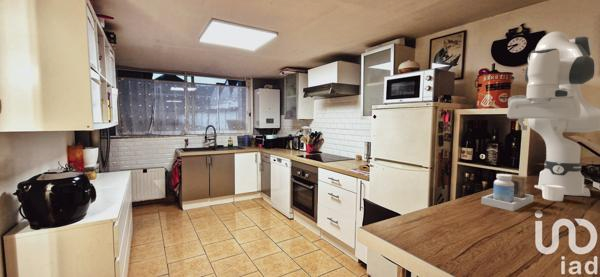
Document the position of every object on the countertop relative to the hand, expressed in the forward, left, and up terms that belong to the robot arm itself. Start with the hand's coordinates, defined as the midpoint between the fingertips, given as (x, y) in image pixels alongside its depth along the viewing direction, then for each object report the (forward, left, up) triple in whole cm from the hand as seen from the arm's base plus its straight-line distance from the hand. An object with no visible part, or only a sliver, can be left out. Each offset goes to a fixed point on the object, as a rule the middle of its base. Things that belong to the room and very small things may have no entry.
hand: (539, 130), depth 97 cm
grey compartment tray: (+7, -6, -30) cm, 31 cm away
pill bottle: (+12, -6, -28) cm, 31 cm away
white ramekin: (-14, +2, -30) cm, 33 cm away
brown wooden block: (+2, -6, -28) cm, 29 cm away
